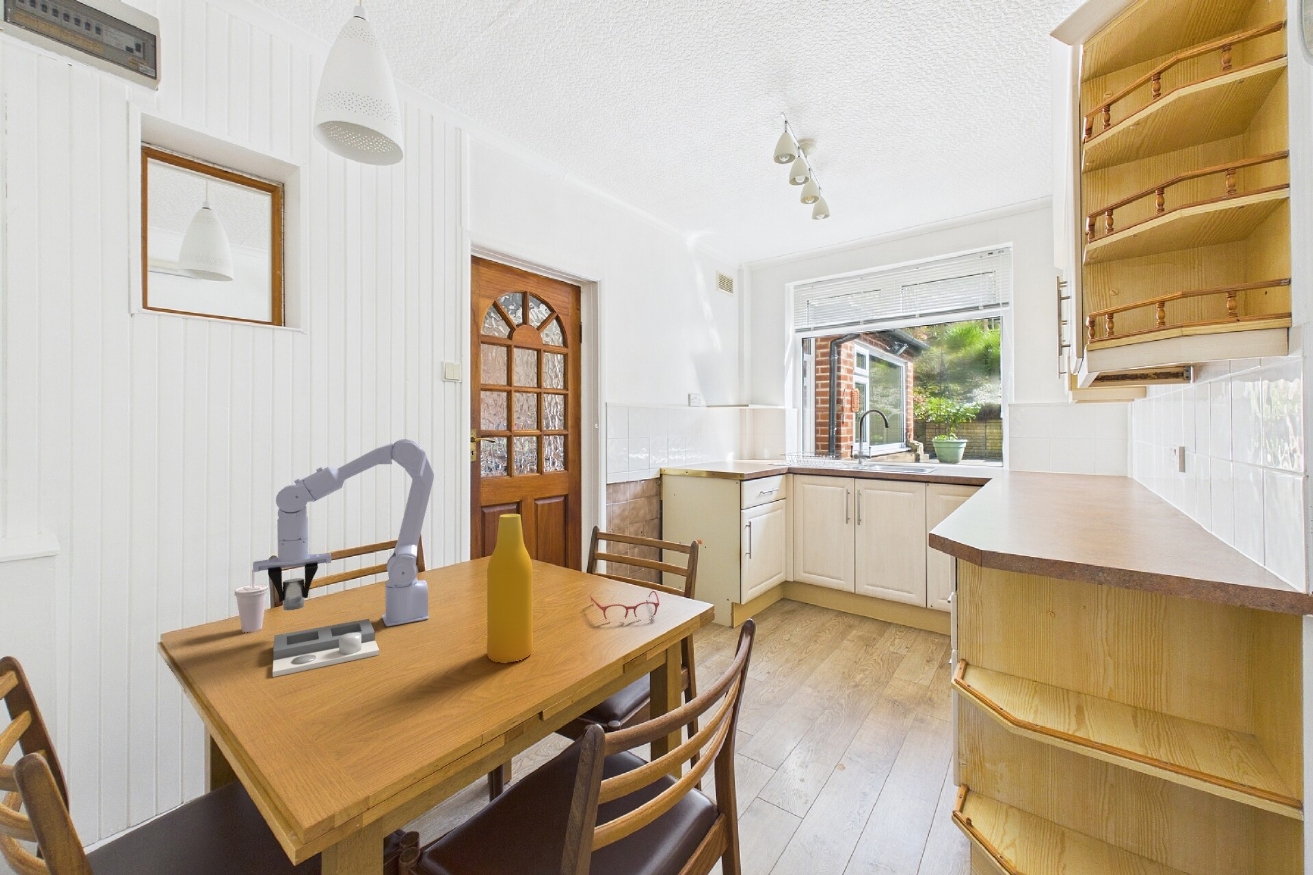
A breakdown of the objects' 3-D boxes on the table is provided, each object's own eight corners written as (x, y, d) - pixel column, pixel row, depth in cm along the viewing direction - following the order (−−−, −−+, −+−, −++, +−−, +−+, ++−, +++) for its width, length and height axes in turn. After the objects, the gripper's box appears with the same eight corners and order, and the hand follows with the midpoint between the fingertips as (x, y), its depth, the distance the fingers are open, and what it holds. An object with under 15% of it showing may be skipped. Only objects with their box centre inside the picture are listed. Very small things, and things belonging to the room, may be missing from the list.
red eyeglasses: (595, 627, 129) (595, 606, 129) (588, 605, 144) (588, 587, 144) (665, 621, 133) (666, 601, 133) (651, 601, 148) (651, 582, 148)
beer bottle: (477, 659, 110) (476, 517, 109) (505, 643, 118) (505, 510, 118) (515, 667, 106) (515, 520, 106) (541, 649, 115) (541, 513, 114)
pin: (304, 603, 125) (303, 577, 124) (304, 608, 121) (304, 581, 121) (283, 606, 122) (282, 580, 122) (283, 611, 119) (282, 584, 119)
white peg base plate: (375, 645, 117) (375, 626, 117) (379, 654, 112) (379, 635, 112) (273, 665, 107) (273, 645, 107) (272, 677, 102) (272, 655, 102)
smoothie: (250, 635, 122) (249, 574, 122) (227, 633, 123) (226, 572, 123) (275, 625, 128) (275, 566, 128) (253, 623, 129) (252, 565, 129)
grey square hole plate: (369, 629, 126) (369, 618, 126) (374, 643, 118) (374, 632, 118) (274, 646, 116) (274, 635, 116) (273, 663, 108) (273, 651, 108)
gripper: (329, 532, 129) (330, 588, 129) (253, 539, 121) (254, 599, 121) (331, 537, 123) (332, 596, 123) (252, 544, 115) (252, 608, 115)
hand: (293, 598), depth 122 cm, fingers closed on pin, 4 cm apart
